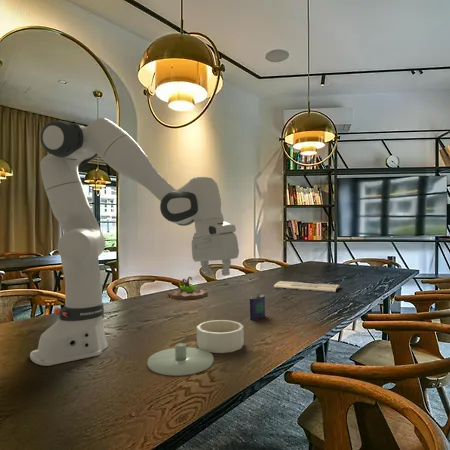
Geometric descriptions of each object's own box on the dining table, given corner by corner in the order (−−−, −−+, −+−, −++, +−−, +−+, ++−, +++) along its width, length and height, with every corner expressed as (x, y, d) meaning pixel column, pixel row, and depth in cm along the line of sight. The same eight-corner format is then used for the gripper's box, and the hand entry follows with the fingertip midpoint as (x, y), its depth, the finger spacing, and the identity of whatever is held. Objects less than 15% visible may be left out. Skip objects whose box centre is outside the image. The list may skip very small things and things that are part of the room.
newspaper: (339, 288, 218) (339, 283, 218) (335, 294, 201) (335, 289, 201) (281, 284, 234) (281, 280, 234) (272, 289, 217) (272, 284, 217)
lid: (174, 383, 89) (174, 363, 89) (134, 363, 103) (134, 345, 103) (226, 362, 103) (226, 344, 103) (185, 346, 116) (185, 331, 116)
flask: (261, 315, 154) (261, 290, 154) (267, 316, 152) (267, 291, 152) (248, 319, 147) (248, 294, 147) (254, 320, 145) (253, 294, 145)
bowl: (219, 356, 106) (219, 336, 106) (188, 344, 117) (188, 326, 117) (252, 344, 117) (252, 326, 117) (220, 334, 128) (220, 317, 128)
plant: (186, 302, 182) (185, 280, 182) (162, 297, 195) (162, 276, 195) (213, 296, 197) (213, 275, 197) (189, 291, 210) (189, 272, 210)
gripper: (184, 234, 113) (190, 277, 112) (221, 227, 97) (228, 277, 96) (200, 232, 117) (206, 273, 116) (238, 224, 100) (246, 273, 100)
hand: (216, 275), depth 106 cm, fingers open, 8 cm apart
